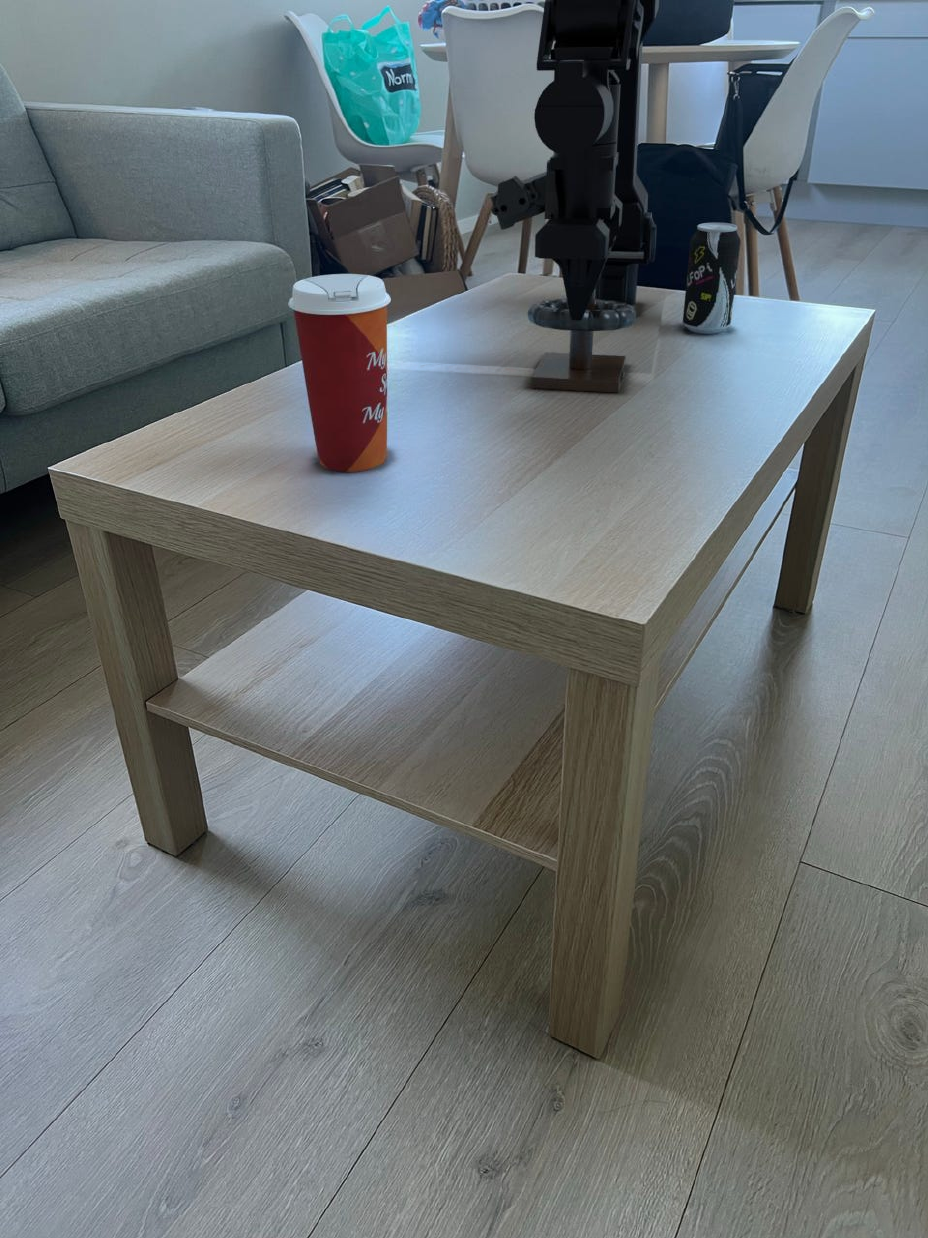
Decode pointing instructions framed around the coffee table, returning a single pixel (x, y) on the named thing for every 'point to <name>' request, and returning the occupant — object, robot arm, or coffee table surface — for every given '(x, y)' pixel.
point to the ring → (600, 319)
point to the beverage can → (711, 278)
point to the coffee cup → (345, 366)
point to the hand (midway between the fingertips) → (577, 316)
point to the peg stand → (580, 366)
